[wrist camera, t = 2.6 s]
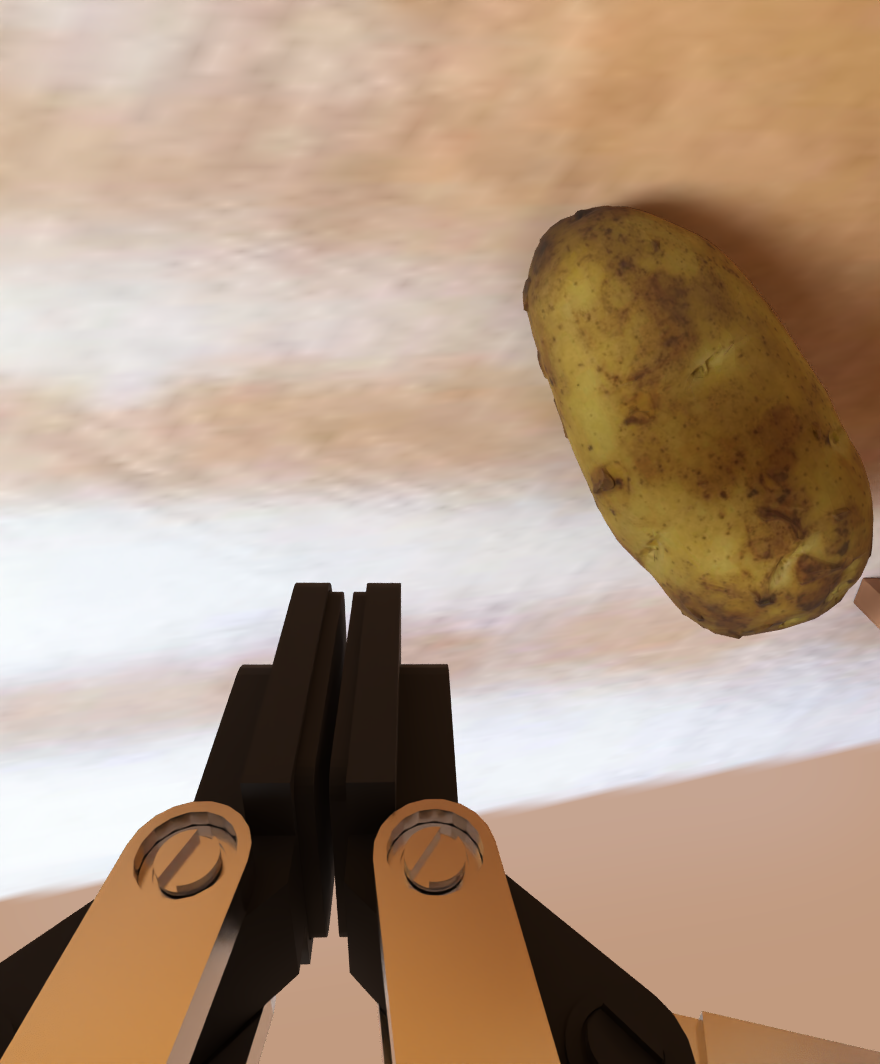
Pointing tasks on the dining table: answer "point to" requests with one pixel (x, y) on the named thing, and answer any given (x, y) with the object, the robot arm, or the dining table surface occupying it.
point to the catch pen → (869, 599)
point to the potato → (697, 422)
